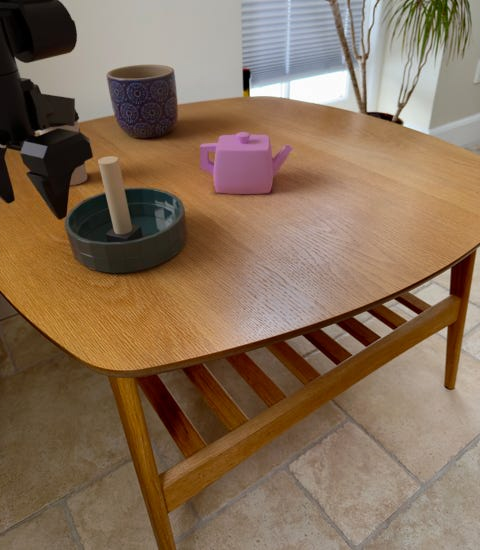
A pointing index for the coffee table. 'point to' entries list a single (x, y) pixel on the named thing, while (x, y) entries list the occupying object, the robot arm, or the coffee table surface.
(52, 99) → the robot arm
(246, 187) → the teapot
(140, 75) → the planter
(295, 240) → the coffee table surface
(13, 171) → the coffee table surface
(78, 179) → the coffee cup
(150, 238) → the basin
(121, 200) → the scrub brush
